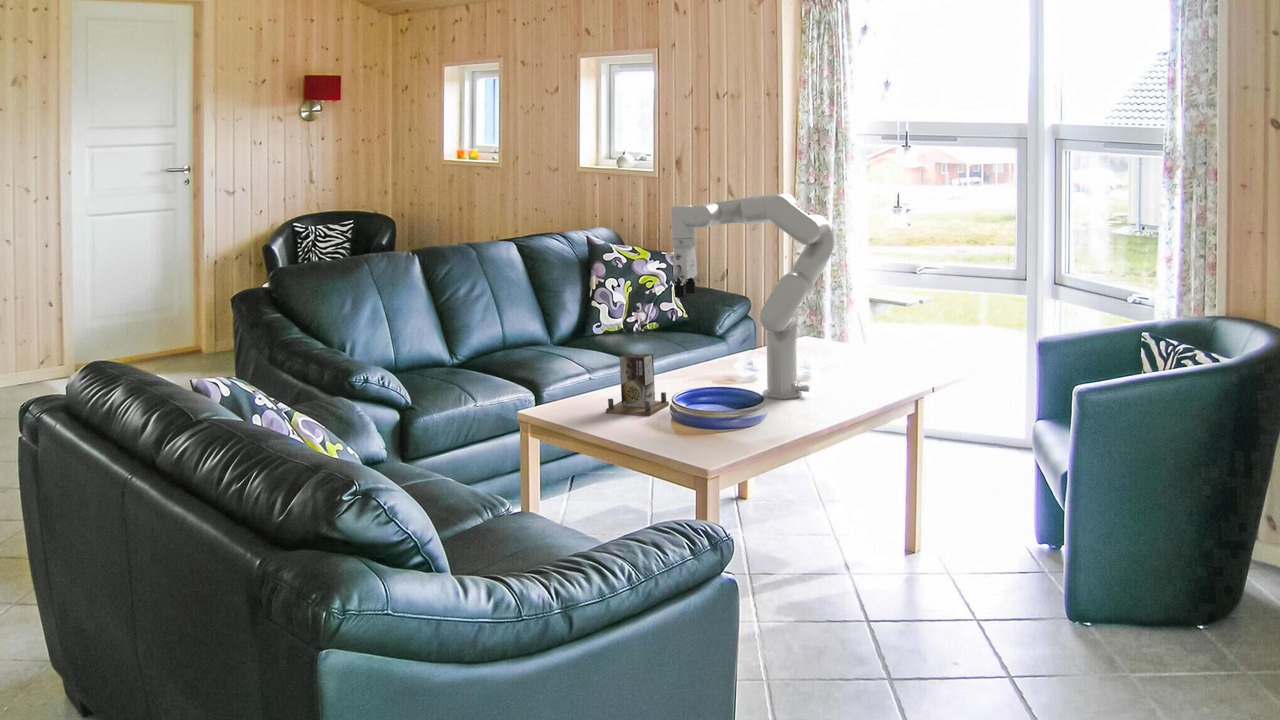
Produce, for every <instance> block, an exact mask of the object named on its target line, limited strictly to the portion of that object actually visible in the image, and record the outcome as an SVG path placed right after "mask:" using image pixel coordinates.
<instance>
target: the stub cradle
mask: <svg viewBox="0 0 1280 720" xmlns="http://www.w3.org/2000/svg"><path fill="white" fill-rule="evenodd" d="M660 399H661V400H655V404H654V405H652V406H651V404H650V401H645V408H642V407H628V406H622V400H620V401H619V402H617V403H615V404H614V398H607V403H608V404H607V405H608V406H607V408H606V409H605V413H606V414H615V415H616V414H617V415H630V416H631V415H633V416H645V417H646V416H647V417H651V416H652V415H654V414H656V413H658V412H660V411H662V410H663V409H664V408H666V407H668V406H669V405H670V401H667V392H664V391H663V392H660Z"/></svg>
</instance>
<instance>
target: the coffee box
mask: <svg viewBox="0 0 1280 720" xmlns="http://www.w3.org/2000/svg"><path fill="white" fill-rule="evenodd" d="M618 358H619V370H620V371H619V372H620V373H619V374H620V377H619V378H620V392H621V394H620V395H621V401H622V406H628V407H642V408H645V401H650V404H651V406H652V405H654V404H655V401H656V397H655V396H656V395H655V394H656V392H655V390H656V389H655V369H654V367H655V366H654V365H655V364H654V353H639V352H638V353H637V352H627V353H624V354H623V355H620V356H619V357H618Z"/></svg>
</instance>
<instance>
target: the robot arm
mask: <svg viewBox="0 0 1280 720" xmlns="http://www.w3.org/2000/svg"><path fill="white" fill-rule="evenodd" d="M797 205H798V204H797V200H796V199H795V197H794V196H792V195H791V194H790V193H784V192H780V193H773V194H766V195H757V196H748V197H747V196H745V197H741V198H737V199H733V200H732V199H730V200H724V201H717V202H716V201H715V202H714V201H713V202H707V203H703V204H698V205H691V204H677V205H674V206H672V208H671V210H670V215H671V218H670V219H671V246H672V247H671V248H672V249H673V262H672V265H673V266H672V267H673V272H672V277H673V285H674V298H685V293H686V294H696V276H697V275H698V263H697V255H696V254H697V252H696V228H698V229H707V228H710V227H712V226H713V227H714V226H720V225H721V226H722V225H727V224H728V225H729V224H744V225H753V224H761V223H762V224H763V223H764V224H765V223H773V224H774V225H775V226H776V227H777V228H779V229H780V230H782V232H784V233H785V234H786V235H788V236H789V237H791V238H792V239H794V240H796V242H798V243H800V244H802V245H805V247H804V248H803V250H802V252H801V253H800V254H799V256H798V257H797V258H798V259H797V260H796V261H795V263H794V265H793V267H792V268H791V269H790V270H789V272H787V273H786V274H784V275H783V276H781V278H780V279H779V280H778V282H776V285H775V286H774V288H773V290H771V293H770V294H769V296H768V298H767V300H766V301H765V303H764V305H763V306H762V308H761V310H760V313H759V322H760V324H761V325H760V326H761V327H762V328H763V329H764V330H765V331H766V376H767V378H766V382H767V383H766V384H767V389H764V390H763V391H762V396H763V397H764V398H767V399H771V400H772V399H773V400H788V399H789V400H791V399H796V398H800V397H801V396H802V395H803V394H802V393H804V392H805V393H808V392H809V393H810V390H811V389H810V385H808V384H801V383H800V380H797V379H798V373H797V372H798V370H797V369H798V368H797V364H798V363H797V335H798V333H797V331H798V319H799V318H798V317H799V316H798V315H799V314H798V308H799V307H800V305H801V303H802V302H803V300H805V299H806V298H807V297H809V296H810V293H811V292H812V289H813V287H814V285H816V283H817V281H818V279H819V277H820V275H822V273H823V270H824V268H825V266H826V265H827V263H828V261H829V259H830V257H831V255H832V253H833V250H834V245H835V243H834V242H835V236H834V235H835V234H834V232H833V229H832V228H833V227H832V226H831V224H830V223H829V222H828V221H827V219H826V218H825V217H823V216H821V215H819V214H809V215H808V214H807V213H806V212H804V211H803V210H801V209H800V208H799V207H798V206H797ZM685 280H686V281H685ZM684 283H685V285H684Z"/></svg>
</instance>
